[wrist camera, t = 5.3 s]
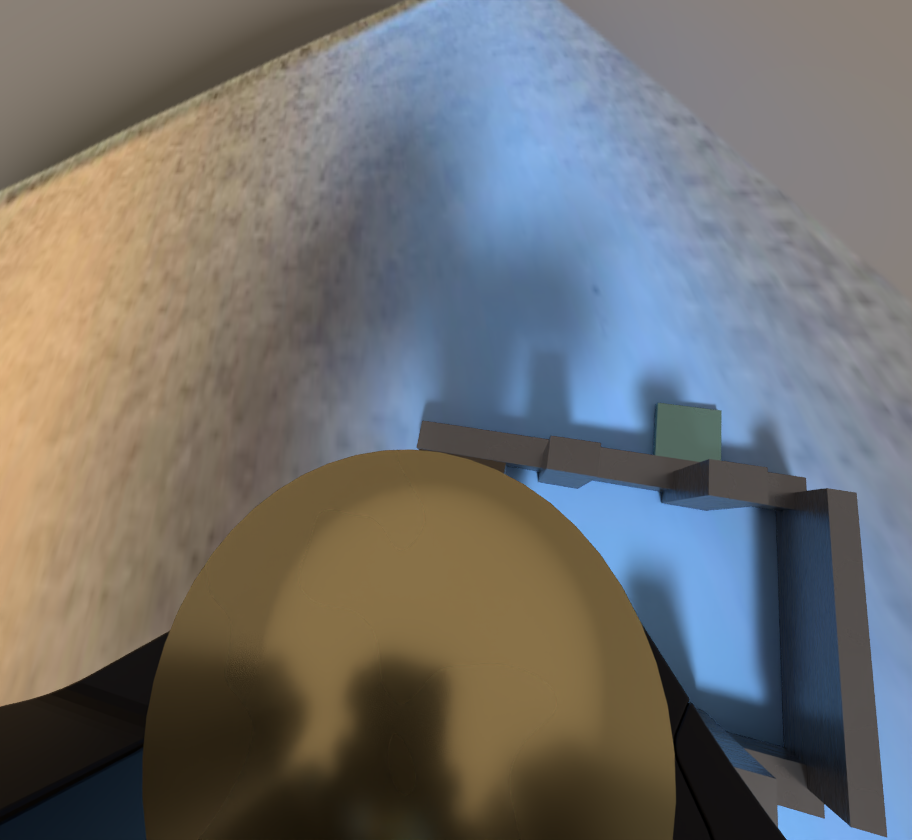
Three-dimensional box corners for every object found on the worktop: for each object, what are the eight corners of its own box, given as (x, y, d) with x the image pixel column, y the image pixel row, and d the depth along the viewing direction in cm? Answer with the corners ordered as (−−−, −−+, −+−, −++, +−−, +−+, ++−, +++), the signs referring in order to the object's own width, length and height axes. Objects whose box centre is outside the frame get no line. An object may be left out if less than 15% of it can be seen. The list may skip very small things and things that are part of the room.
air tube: (538, 652, 14) (723, 1407, 2) (411, 619, 15) (4, 992, 3) (554, 516, 15) (722, 464, 3) (436, 494, 16) (229, 390, 4)
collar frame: (814, 800, 14) (943, 915, 10) (373, 673, 18) (331, 719, 13) (795, 422, 18) (882, 389, 14) (437, 377, 22) (420, 340, 17)
